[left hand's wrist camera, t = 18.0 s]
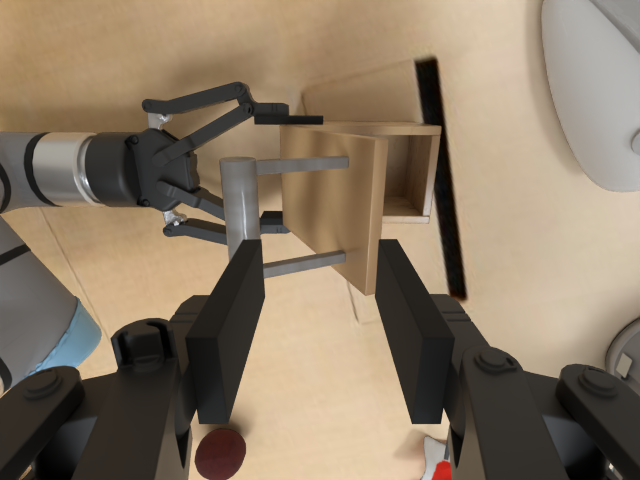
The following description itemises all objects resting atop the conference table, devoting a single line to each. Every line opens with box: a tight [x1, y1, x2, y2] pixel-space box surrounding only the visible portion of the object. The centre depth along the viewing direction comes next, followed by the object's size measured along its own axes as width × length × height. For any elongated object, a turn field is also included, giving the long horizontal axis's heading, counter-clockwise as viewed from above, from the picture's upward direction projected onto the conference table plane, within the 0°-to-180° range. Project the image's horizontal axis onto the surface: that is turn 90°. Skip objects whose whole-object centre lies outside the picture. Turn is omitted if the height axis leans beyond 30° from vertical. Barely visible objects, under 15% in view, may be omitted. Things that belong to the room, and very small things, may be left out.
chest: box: [286, 121, 441, 223], centre depth 37 cm, size 14×9×9 cm, turn 90°
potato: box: [195, 429, 246, 480], centre depth 54 cm, size 7×8×7 cm
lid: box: [220, 125, 388, 296], centre depth 25 cm, size 15×9×8 cm
